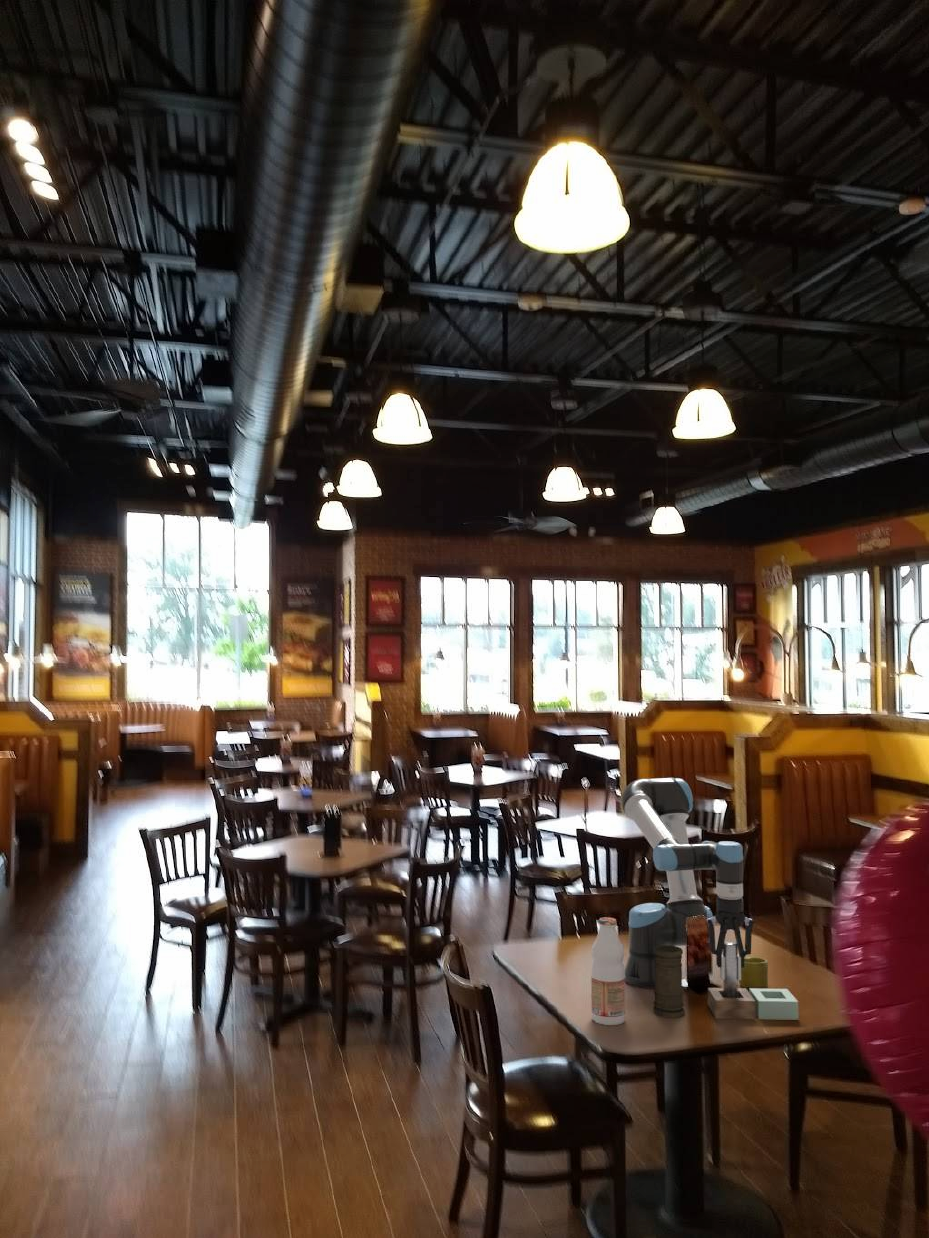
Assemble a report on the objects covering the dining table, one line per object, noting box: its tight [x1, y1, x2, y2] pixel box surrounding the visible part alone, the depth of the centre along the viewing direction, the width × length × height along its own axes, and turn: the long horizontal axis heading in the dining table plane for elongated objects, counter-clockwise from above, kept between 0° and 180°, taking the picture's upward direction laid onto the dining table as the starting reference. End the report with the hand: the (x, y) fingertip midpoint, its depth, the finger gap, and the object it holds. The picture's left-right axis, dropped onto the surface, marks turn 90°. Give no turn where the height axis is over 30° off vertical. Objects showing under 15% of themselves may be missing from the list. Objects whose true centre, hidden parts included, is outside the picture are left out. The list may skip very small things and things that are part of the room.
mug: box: [738, 956, 769, 990], centre depth 306 cm, size 12×10×10 cm
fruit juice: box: [590, 916, 626, 1026], centre depth 276 cm, size 9×9×28 cm
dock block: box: [748, 988, 800, 1021], centre depth 281 cm, size 11×11×5 cm
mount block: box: [707, 987, 756, 1020], centre depth 282 cm, size 11×11×5 cm
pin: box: [722, 941, 739, 998], centre depth 282 cm, size 4×4×17 cm
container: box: [652, 945, 685, 1019], centre depth 282 cm, size 9×9×18 cm
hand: (730, 978), depth 282 cm, fingers closed on pin, 4 cm apart
